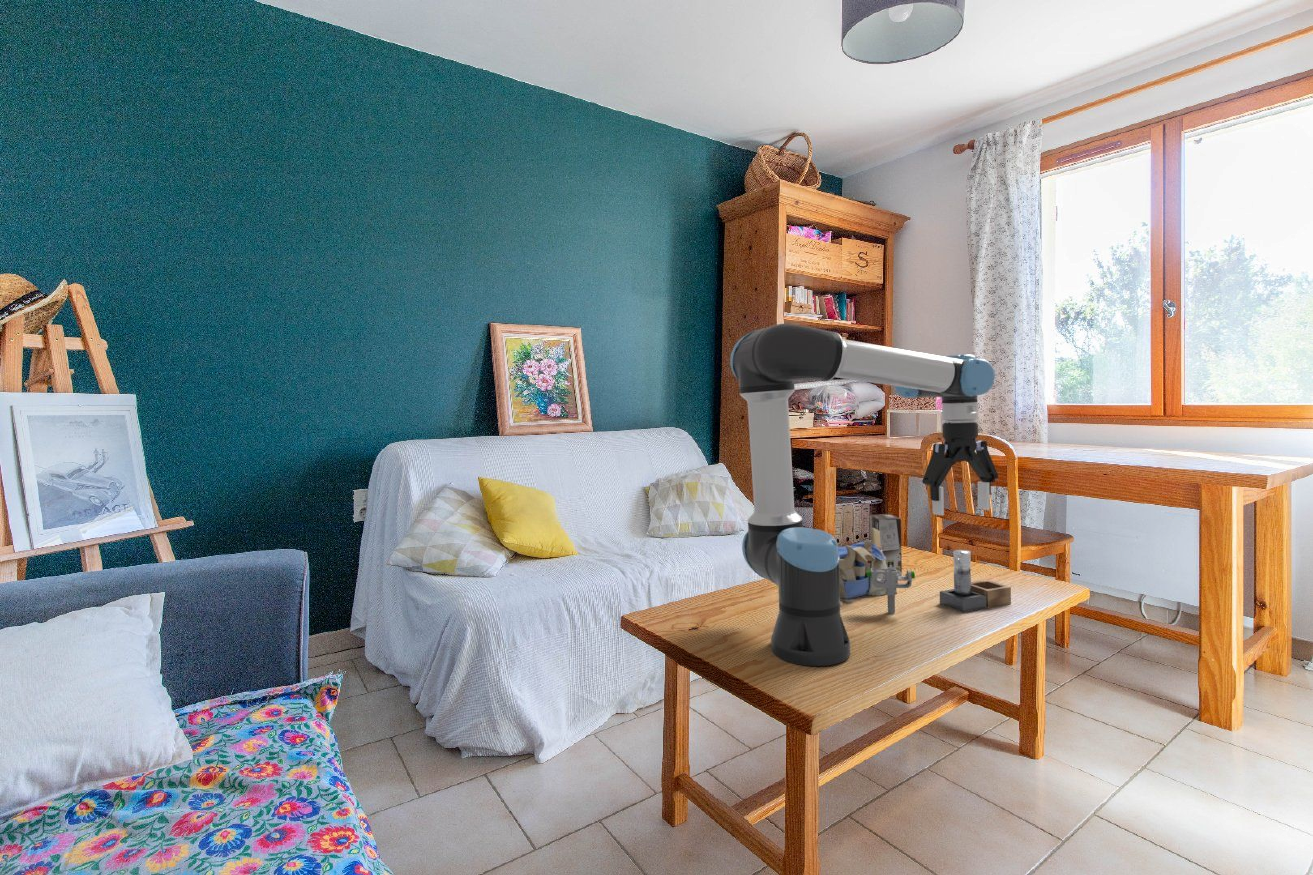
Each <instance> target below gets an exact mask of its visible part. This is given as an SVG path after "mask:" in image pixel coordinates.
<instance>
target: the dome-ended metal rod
mask: <svg viewBox="0 0 1313 875" xmlns="http://www.w3.org/2000/svg"><path fill="white" fill-rule="evenodd" d="M971 553H972V552H971V550H966V549H955V550H953V589H954V595H957V596H960V597H962V598H963V597H969V596H971V582H972V571H971V570H972V569H971V568H972V566H971V565H972V563H971V558H972V557H971V556H972V554H971Z"/></svg>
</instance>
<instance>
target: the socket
mask: <svg viewBox="0 0 1313 875" xmlns="http://www.w3.org/2000/svg"><path fill="white" fill-rule="evenodd" d="M939 604H940V605H942V606H945V607H948V608H950V609H952V610H955V611H958V612H961V613H967V612H972V611H978V610H983V609H984V610H985V609H987V607H986V595H983V594H980V593H977V592H974V591H971V596H969V597H963V598H962V597H960V596H957V595H954V588H953V589H946V590H940V591H939Z"/></svg>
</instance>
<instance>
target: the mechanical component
mask: <svg viewBox="0 0 1313 875" xmlns="http://www.w3.org/2000/svg"><path fill="white" fill-rule="evenodd" d="M879 575H883V578H882V579H877V577H878V576H879ZM915 575H916V574H915V571H911V570H910V569H909V570H908V569H907V570H906V573H905V574H904V575H902V576H900V575H899V574H897V570H895V569H870V571H867V578H871V581H872V583H873V585H874V586H875V587H877V588H886V591H885V593H886V594H885V595H887V612H888V614H889V615H895V613H896V598H895V597H896V595H897V594H898V592H897V589H909V588H911V586H912V581H913V579H915V577H916V576H915ZM898 581H899V582H900V581H906V582H904V583H902V582H901V583H898Z"/></svg>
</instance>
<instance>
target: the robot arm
mask: <svg viewBox="0 0 1313 875" xmlns="http://www.w3.org/2000/svg"><path fill="white" fill-rule="evenodd" d="M729 362H730V363H729V364H730V365H729V366H730V369H731V372H732V374H733V376H734V377H735V379H737V380H738V385H739V386H738V387H739V396H741V397H742V398H743V399H744V400H745V401H746V403H747V414H748V416H747V417H748V430H749V443H750V444H749V446H750V462H751V463H750V464H751V479H752V481H751V482H752V494H753V495H752V496H753V513H752V514H751V516H749V517H748V518H747V528H748V529H747V532H746V534H744V536H743V539H742V544H741V550H742V552H741V553H742V555H743V558H744V561H745V562H746V564H747V566H748V567H749V568H750V569H752V571H753V572H754V573H755V574H757V575H758V576H759V577H761V578H763V579H766V580H768V581H769V582H771V583H773V584H775V585H776V586H777V587H778V609H779V610H778V614H777V616H776V621H775V623H774V624H775V625H774V627H773V631H772V634H771V639H770V651H771V652H772V654H774V656H775V657H777V658H778V659H780V660H782V661H785V662H787V663H790V664H795V665H801V666H810V667H811V666H812V667H821V666H822V667H825V666H832V665H837V664H840V663H842V662H843V663H844V661H846V660H848V659H849V657H850V656H851V642H850V641H851V640H850V638H849V635H848V633H847V630H846V627H845V625H844V622H843V619H842V615H841V606H840V601H841V598H840V592H839V561H840V556H839V550H838V547H839V545H838V541H837V539H836V538H835V536H833V535H832V534H831V533H830V532H826V531H824V530H822V529H819V528H817V529H814V528H812V527H804V524H803V517H802V516H801V515H800V514H799V513H798V512H797V511H796V510H795V497H794V482H793V481H794V479H793V478H794V477H793V465H792V464H793V463H792V448H791V447H792V445H791V430H790V428H791V426H790V414H789V413H790V412H789V409H790V408H789V398H790V397H791V396H792V395H793V393H795V390H796V389H795V388H796V386H795V382H797V381H805V380H807V381H809V380H810V381H811V380H814V381H823V382H829V381H831V380H833V379H835V378H838V379H839V378H840V379H845V380H851V381H859V382H866V383H873V384H878V385H885V386H886V385H887V386H891V387H892V386H893V387H894V390H895V392H896V393H897V394H898V396H899V397H901V398H905V399H920V398H921V399H923V398H924V399H925V398H941V418H942V419H941V420H942V421H944V422H943V424H942V429H941V430H942V432H941V433H942V439H944V443H934V444H933V445H932V454H931V457H930V458H929V463H928V464H927V468H926V469H925V473H924V476H923V477H922V480H921V482H922V484H924V485H926V486H928V487H929V489H930V490H929V491H930V493H929V494H930V501H931V503H932V506H931V507H932V514H933V515H936V516H945V503H944V501H945V500H944V498H945V497H944V496H945V495H944V494H945V493H944V487H943V486H941V485H942V484H943V482H944V481H945V479H946V477H947V476H948V474H949V473H950V470H951V469H952V468H953V466H954V465H956V464H957V463H962V462H967V463H968V464H969V466H970V467H971V469H972V470H973V471H974V473H975V474H976V476H977V477H978V478H979V479H980V481H977V509H978V510H979V509H980V510H985V511H990V510H991V509H990V508H991V507H990V506H991V505H990V504H991V501H990V496H991V494H992V483H995V482H996V480H997V479H998V478H999V474H998V471H997V469H996V466H995V464H994V462H993V460H992V457H991V455H990V452H989V449H988V442H987V441H986V440H976V439H977V438H978V437H979V423H978V422H975V421H976V420H978V418H979V416H978V414H979V413H978V396H982V395H984V394H987V393H988V392H989V391H990V390H991V389H992V388H993V385H994V383H995V378H996V377H995V376H996V375H995V370H994V367H993V365H992V364H991V363H990V362H989V361H988V360H986V359H984V358H976V356H975V355H973V354H954V355H945V356H943V355H938V354H931V353H927V352H922V351H921V352H919V351H914V350H910V349H902V348H896V347H891V346H885V345H879V344H874V343H868V342H862V341H857V340H852V339H850V340H849V339H845V338H842V336H841V334H840V333H838V332H835V331H830V330H825V329H821V328H815V327H811V326H807V325H806V326H804V325H799V324H794V323H779V324H773V325H772V326H768V327H764V328H761V329H756V330H753V331H751V332H748V333H747V334H745V335H744V336H742V337H741V338H740V339H739V340H738V341H737V342H736V343H735V344H734V346H733V348H732V350H731V354H730V358H729Z"/></svg>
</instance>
